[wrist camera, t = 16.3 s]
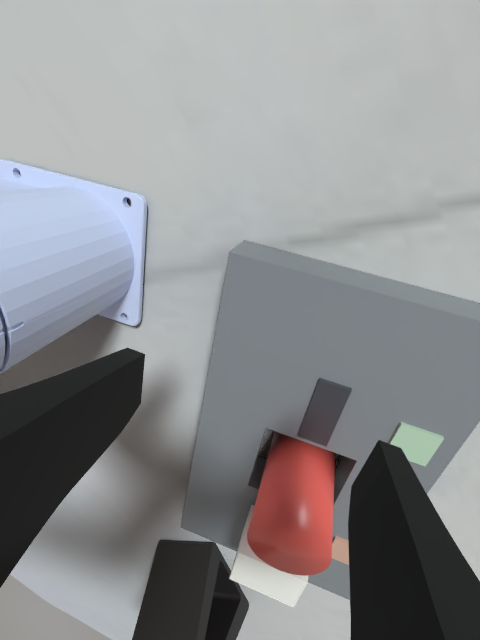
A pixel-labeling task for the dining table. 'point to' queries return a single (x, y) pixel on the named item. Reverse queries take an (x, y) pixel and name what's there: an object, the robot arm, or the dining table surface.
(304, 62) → the dining table surface
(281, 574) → the lever
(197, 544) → the phone stand
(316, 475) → the pin
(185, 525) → the breaker panel
